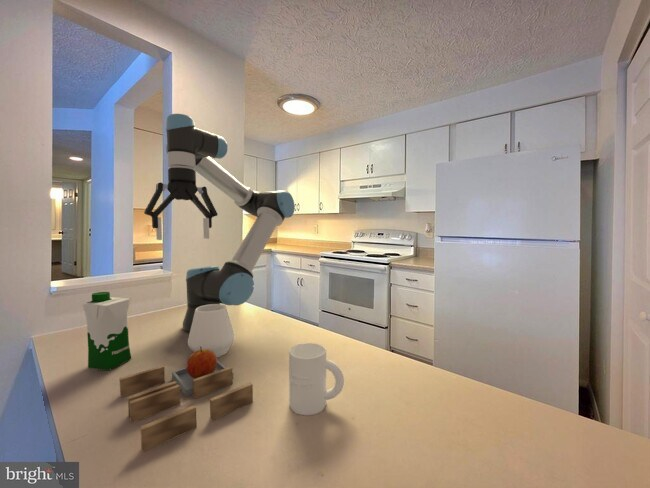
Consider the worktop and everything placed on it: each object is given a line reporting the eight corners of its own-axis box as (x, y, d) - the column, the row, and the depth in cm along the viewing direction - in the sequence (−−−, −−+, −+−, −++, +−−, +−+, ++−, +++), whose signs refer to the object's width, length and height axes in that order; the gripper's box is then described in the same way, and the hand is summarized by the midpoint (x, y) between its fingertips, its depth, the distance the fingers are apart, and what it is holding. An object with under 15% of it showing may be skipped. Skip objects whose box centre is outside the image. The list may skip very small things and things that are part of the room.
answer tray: (215, 363, 82) (215, 358, 82) (233, 379, 74) (233, 373, 73) (172, 378, 74) (171, 372, 74) (186, 396, 66) (186, 390, 66)
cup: (243, 346, 94) (242, 303, 93) (215, 365, 81) (213, 316, 80) (209, 341, 98) (208, 300, 97) (177, 358, 85) (176, 311, 85)
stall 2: (178, 402, 64) (178, 384, 64) (196, 427, 56) (196, 407, 56) (130, 420, 58) (129, 401, 58) (142, 452, 50) (141, 429, 50)
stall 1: (163, 380, 73) (163, 365, 73) (177, 400, 65) (176, 382, 64) (120, 395, 67) (119, 378, 66) (129, 418, 59) (128, 399, 58)
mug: (340, 422, 58) (340, 363, 57) (283, 413, 60) (283, 356, 60) (346, 398, 66) (347, 346, 65) (296, 391, 68) (296, 341, 68)
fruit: (221, 377, 74) (221, 346, 73) (194, 388, 69) (193, 355, 68) (209, 368, 78) (208, 339, 78) (182, 377, 73) (181, 347, 73)
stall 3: (230, 382, 72) (230, 366, 72) (252, 401, 64) (252, 384, 64) (193, 396, 66) (192, 379, 66) (212, 420, 58) (211, 401, 58)
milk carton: (111, 355, 87) (108, 289, 86) (137, 358, 85) (134, 290, 84) (81, 369, 79) (77, 296, 77) (109, 372, 77) (105, 298, 76)
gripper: (217, 175, 99) (218, 237, 100) (130, 164, 82) (133, 239, 83) (227, 172, 94) (228, 238, 95) (136, 160, 77) (139, 240, 78)
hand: (184, 239), depth 89 cm, fingers open, 13 cm apart
